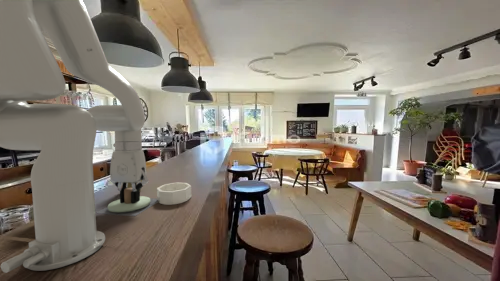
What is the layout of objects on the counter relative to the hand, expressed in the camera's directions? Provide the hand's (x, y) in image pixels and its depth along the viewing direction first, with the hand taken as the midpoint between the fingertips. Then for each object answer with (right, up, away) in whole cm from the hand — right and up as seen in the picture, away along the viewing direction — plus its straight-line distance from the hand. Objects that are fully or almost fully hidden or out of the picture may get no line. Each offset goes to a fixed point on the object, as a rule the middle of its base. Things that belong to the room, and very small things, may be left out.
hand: (130, 201), depth 65 cm
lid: (0, -1, 0) cm, 1 cm away
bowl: (+12, -2, +7) cm, 14 cm away
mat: (0, -2, +1) cm, 2 cm away
